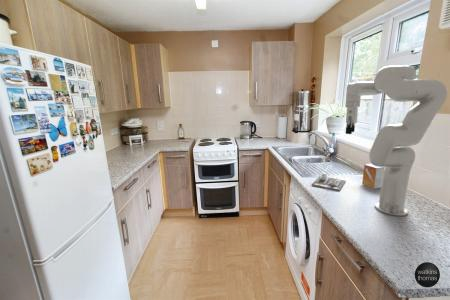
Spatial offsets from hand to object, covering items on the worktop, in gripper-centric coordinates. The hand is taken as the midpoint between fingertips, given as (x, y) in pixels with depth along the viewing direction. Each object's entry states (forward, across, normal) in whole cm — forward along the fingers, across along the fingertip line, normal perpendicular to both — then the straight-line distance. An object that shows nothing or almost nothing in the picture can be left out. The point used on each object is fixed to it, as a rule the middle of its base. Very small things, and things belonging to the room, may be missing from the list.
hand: (349, 132), depth 132 cm
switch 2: (+31, -13, +5) cm, 34 cm away
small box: (+32, +2, -14) cm, 35 cm away
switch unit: (+32, -9, +8) cm, 34 cm away
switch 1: (+31, -7, +11) cm, 34 cm away
